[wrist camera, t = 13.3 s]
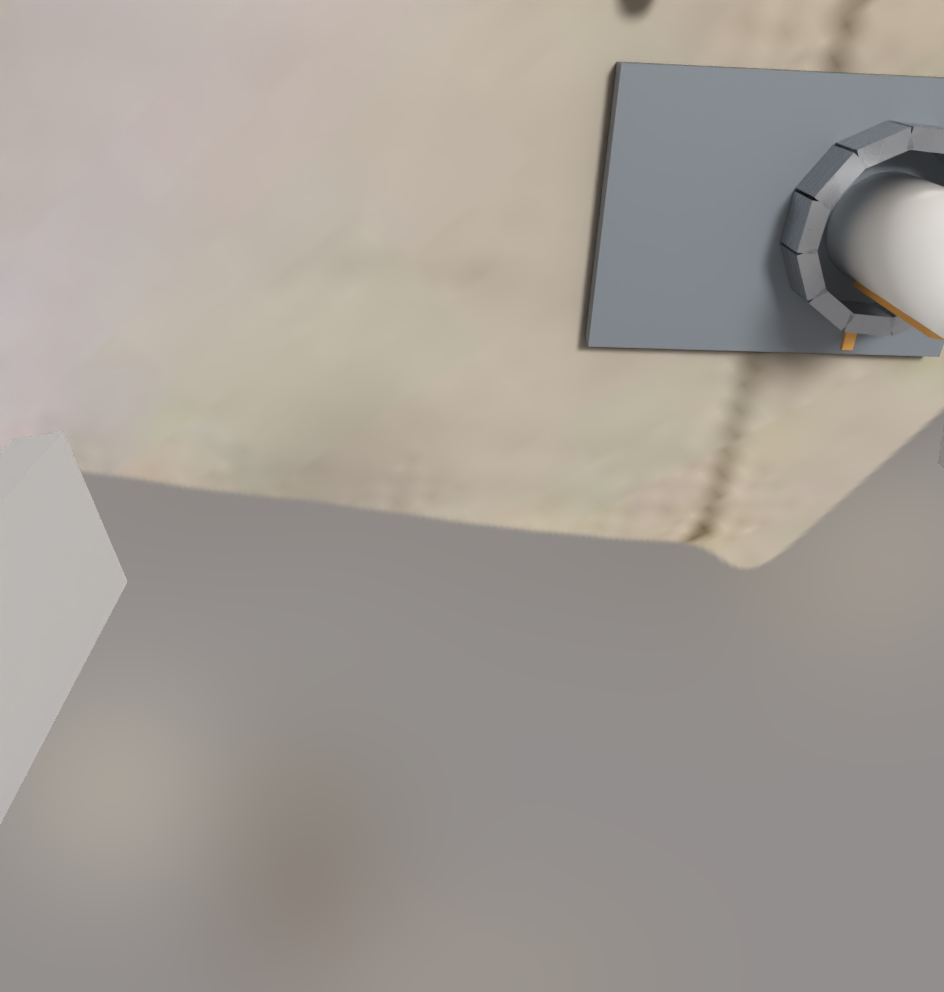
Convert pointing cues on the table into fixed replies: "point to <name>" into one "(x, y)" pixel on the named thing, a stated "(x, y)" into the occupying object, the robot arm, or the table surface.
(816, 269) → the duct collar
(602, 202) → the board
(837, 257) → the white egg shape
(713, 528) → the table surface
